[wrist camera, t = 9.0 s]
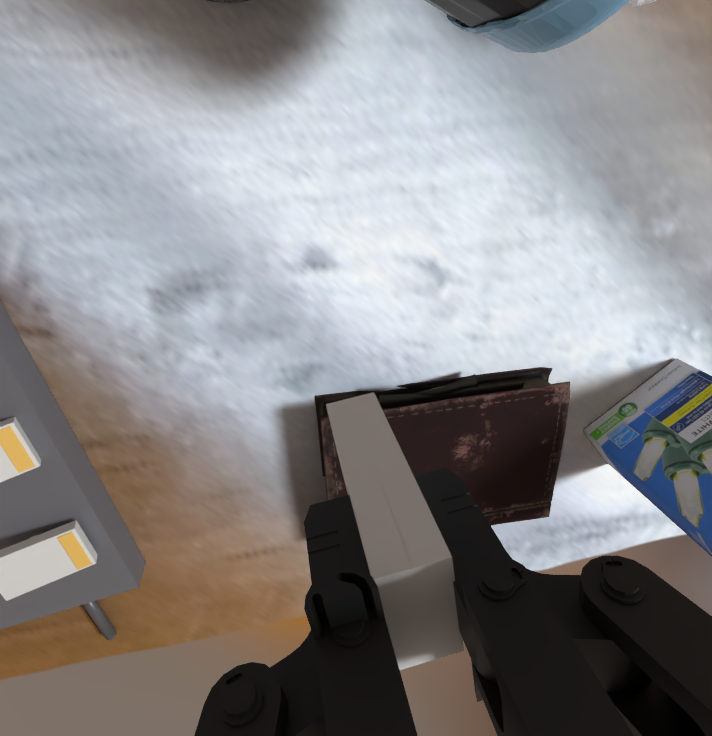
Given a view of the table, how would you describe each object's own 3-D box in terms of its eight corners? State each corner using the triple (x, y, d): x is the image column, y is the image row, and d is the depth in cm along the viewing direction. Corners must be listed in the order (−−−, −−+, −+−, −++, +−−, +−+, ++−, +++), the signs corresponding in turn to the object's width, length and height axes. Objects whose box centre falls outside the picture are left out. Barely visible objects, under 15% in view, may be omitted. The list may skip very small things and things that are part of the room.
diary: (527, 495, 60) (550, 523, 55) (326, 529, 56) (333, 563, 51) (547, 357, 51) (575, 377, 47) (313, 386, 48) (320, 412, 43)
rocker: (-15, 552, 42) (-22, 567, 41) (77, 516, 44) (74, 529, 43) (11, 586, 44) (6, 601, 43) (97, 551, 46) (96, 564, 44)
